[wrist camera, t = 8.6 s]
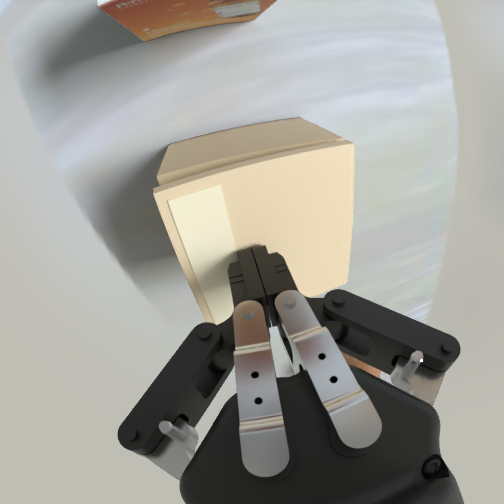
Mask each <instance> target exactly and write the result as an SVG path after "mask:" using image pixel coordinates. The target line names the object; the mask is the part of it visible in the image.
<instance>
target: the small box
mask: <svg viewBox="0 0 504 504" xmlns="http://www.w3.org/2000/svg"><path fill="white" fill-rule="evenodd" d="M276 1H277V0H96V3H97V7H98V8H99V9H100V10H101V11H103V12H104V13H106V14H107V15H109V16H110V17H111V18H113V19H114V20H116V21H117V22H118V23H120V24H121V25H123V26H124V27H125V28H126V29H128V30H129V31H130V32H132V33H133V34H134V35H136V36H137V37H138V38H140V39H141V40H142V41H144V42H145V41H149V40H152V39H155V38H158V37H161V36H165V35H168V34H172V33H176V32H180V31H184V30H189V29H194V28H200V27H206V26H212V25H218V24H225V23H234V22H244V21H253V20H255V19H256V18H257V17H258V16H259V15H261V14H262V13H263V12H264V11H265V10H266V9H267V8H269V7H270V6H271V5H272V4H273V3H274V2H276Z"/></svg>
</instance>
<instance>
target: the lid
mask: <svg viewBox="0 0 504 504" xmlns="http://www.w3.org/2000/svg"><path fill="white" fill-rule="evenodd" d="M153 195H154V198H155V200H156V203H157V206H158V209H159V211H160V214H161V217H162V219H163V222H164V224H165V227H166V230H167V232H168V235H169V237H170V240H171V242H172V245H173V247H174V250H175V252H176V255H177V257H178V259H179V262H180V264H181V267H182V269H183V271H184V274H185V276H186V278H187V281H188V283H189V285H190V288H191V290H192V292H193V294H194V297H195V299H196V301H197V303H198V305H199V308H200V310H201V312H202V314H203V316H204V318H205V320H206V322H210V323H214V324H216V325H218V324H220V323H222V322H224V321H225V320H227V319H228V318H229V317H230V316H231V315H232V313H233V310H234V305H233V299H232V294H231V288H230V283H229V277H228V272H227V270H228V268H229V265H230V263H233V262H238V261H240V260H239V256H238V251H242V250H246V249H250V248H251V251H252V248H254V247H258V246H263V245H265V246H266V248H267V251H268V253H269V254H270V253H274V252H278V253H279V254H280V255H282V256H283V257H284V259H285V261H286V264H287V266H288V268H289V270H290V273H291V275H292V277H293V279H294V282H295V284H296V286H297V288H298V290H299V292H300V293H302V294H303V295H304V296H306V297H310V298H311V297H313V296H316V295H318V294H321V293H323V292H326V291H328V290H331V289H333V288H336V287H338V286H340V285H343V284H345V283H347V280H348V271H349V261H350V250H351V238H352V224H353V205H354V143H353V142H350V141H348V140H343V141H337V142H331V143H325V144H319V145H314V146H309V147H303V148H298V149H294V150H289V151H284V152H280V153H275V154H271V155H266V156H262V157H258V158H254V159H250V160H246V161H242V162H238V163H234V164H231V165H227V166H223V167H220V168H216V169H212V170H209V171H206V172H202V173H199V174H196V175H192V176H189V177H186V178H183V179H180V180H176V181H173V182H170V183H167V184H164V185H161V186H158V187H156V188H154V189H153ZM252 254H253V253H252Z"/></svg>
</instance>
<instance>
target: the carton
mask: <svg viewBox="0 0 504 504" xmlns="http://www.w3.org/2000/svg"><path fill="white" fill-rule="evenodd" d="M337 141H343V138H342V137H340V136H338V135H336V134H334V133H332V132H330V131H328V130H326V129H324V128H322V127H320V126H317V125H315V124H313V123H311V122H309V121H307V120H304V119H302V118H300V117H298V118H290V119H283V120H276V121H270V122H264V123H258V124H252V125H247V126H242V127H237V128H232V129H227V130H223V131H218V132H214V133H210V134H206V135H202V136H198V137H194V138H190V139H186V140H182V141H179V142H175V143H172V144H169V146H168V148H167V151H166V153H165V156H164V158H163V161H162V163H161V166H160V168H159V171H158V174H157V179H158V182H159V185H160V186H161V185H164V184H167V183H170V182H173V181H176V180H180V179H183V178H186V177H189V176H192V175H196V174H199V173H202V172H206V171H209V170H212V169H216V168H220V167H223V166H227V165H231V164H234V163H238V162H242V161H246V160H250V159H254V158H258V157H262V156H266V155H271V154H275V153H280V152H284V151H289V150H294V149H298V148H303V147H309V146H314V145H319V144H325V143H331V142H337Z"/></svg>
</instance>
